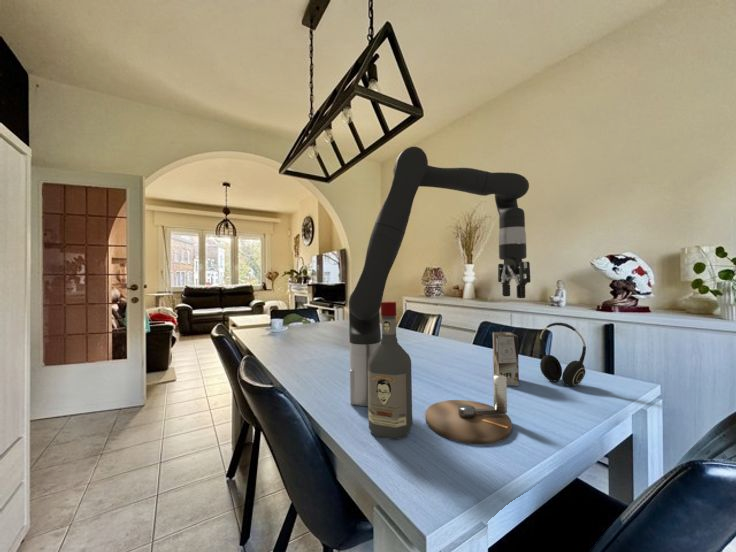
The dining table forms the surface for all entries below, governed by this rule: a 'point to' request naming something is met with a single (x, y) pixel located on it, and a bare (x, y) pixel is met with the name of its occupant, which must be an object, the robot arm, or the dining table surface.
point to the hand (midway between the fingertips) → (513, 297)
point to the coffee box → (506, 356)
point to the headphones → (553, 367)
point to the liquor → (389, 382)
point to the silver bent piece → (499, 400)
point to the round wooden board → (467, 423)
